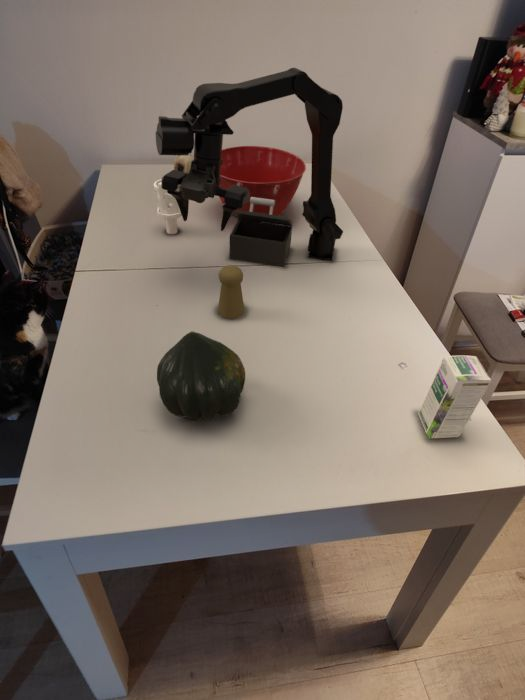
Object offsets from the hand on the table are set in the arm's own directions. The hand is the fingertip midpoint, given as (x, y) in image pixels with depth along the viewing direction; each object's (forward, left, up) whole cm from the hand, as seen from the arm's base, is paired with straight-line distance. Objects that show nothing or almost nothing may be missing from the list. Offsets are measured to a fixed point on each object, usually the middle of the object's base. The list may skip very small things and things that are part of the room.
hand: (203, 225), depth 102 cm
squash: (-12, +40, -13) cm, 44 cm away
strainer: (+16, -19, -13) cm, 28 cm away
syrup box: (-54, +35, -13) cm, 66 cm away
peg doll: (-10, +13, -13) cm, 21 cm away
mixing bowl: (-4, -38, -13) cm, 40 cm away
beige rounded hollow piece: (+25, -55, -9) cm, 61 cm away
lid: (-11, -14, -3) cm, 18 cm away
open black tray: (-11, -14, -13) cm, 22 cm away
